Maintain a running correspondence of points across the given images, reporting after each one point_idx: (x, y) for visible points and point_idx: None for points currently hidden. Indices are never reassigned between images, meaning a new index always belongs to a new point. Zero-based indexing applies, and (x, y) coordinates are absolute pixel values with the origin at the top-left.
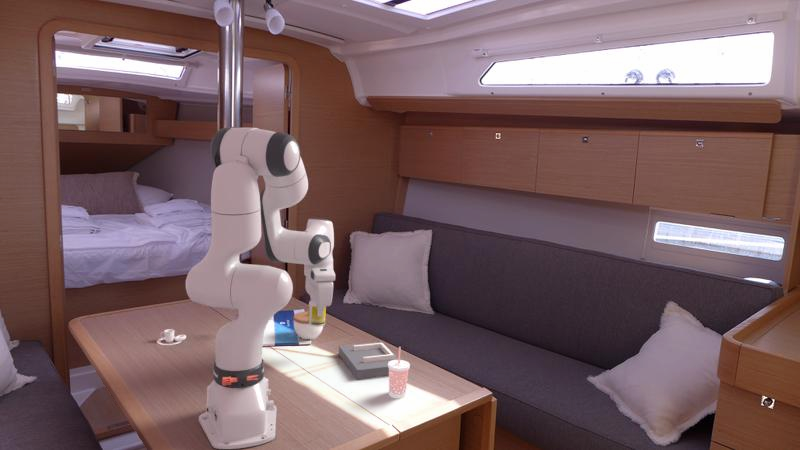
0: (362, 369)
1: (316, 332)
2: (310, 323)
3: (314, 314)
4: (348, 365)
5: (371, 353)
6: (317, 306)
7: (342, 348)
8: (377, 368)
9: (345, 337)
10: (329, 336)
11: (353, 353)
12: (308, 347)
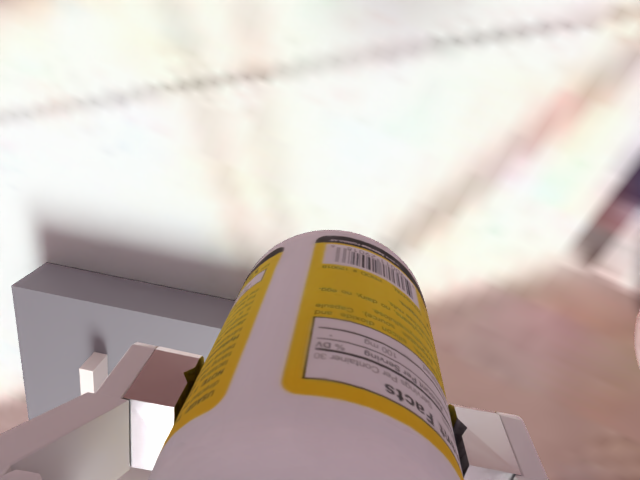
0: (16, 309)
1: (637, 345)
2: (292, 242)
3: (221, 335)
4: (180, 296)
5: None
6: (19, 455)
7: None
8: (24, 369)
9: (552, 450)
10: (622, 398)
11: None
12: (544, 233)
